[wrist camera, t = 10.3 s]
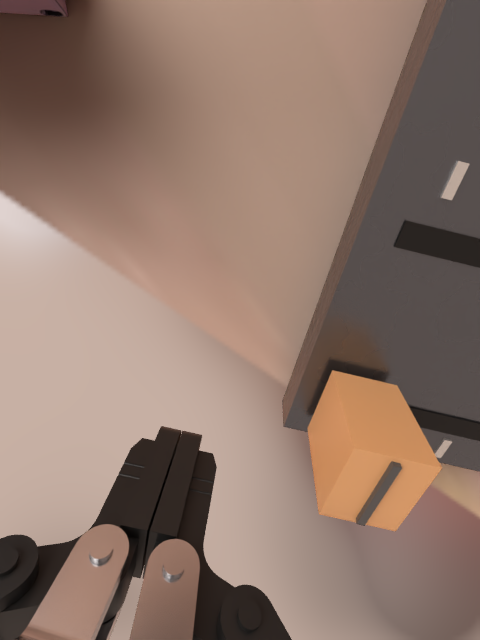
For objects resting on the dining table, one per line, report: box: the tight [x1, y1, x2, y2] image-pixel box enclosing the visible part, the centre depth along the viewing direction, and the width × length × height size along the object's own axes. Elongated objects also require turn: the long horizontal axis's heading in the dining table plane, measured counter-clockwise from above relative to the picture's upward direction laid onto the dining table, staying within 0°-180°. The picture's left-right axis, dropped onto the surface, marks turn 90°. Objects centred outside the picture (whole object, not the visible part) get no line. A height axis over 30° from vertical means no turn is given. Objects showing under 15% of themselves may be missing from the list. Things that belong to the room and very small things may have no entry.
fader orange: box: [308, 370, 442, 531], centre depth 14 cm, size 4×3×5 cm
